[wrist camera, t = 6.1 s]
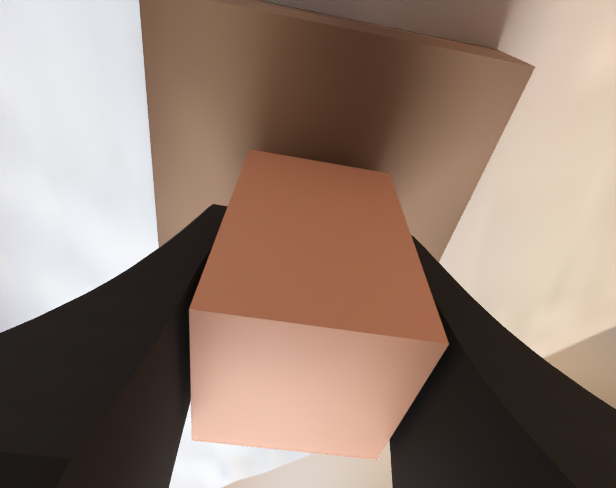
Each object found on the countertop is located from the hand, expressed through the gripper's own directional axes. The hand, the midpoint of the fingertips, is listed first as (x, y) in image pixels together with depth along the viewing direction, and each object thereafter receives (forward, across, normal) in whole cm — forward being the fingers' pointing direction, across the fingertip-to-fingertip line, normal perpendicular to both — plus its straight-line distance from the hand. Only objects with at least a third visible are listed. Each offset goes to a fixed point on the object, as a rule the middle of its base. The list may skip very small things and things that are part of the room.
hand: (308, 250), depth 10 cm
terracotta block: (+2, 0, 0) cm, 2 cm away
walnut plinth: (+5, 0, 0) cm, 5 cm away
